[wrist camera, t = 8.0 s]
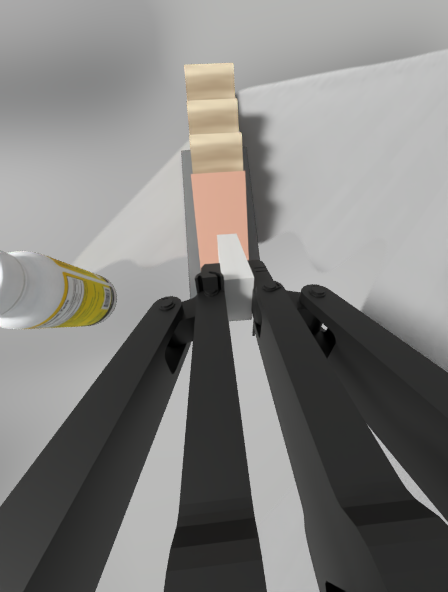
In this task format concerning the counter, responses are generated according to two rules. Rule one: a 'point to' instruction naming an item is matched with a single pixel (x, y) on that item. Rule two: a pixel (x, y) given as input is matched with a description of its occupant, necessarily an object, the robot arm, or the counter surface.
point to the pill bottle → (50, 293)
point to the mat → (191, 222)
